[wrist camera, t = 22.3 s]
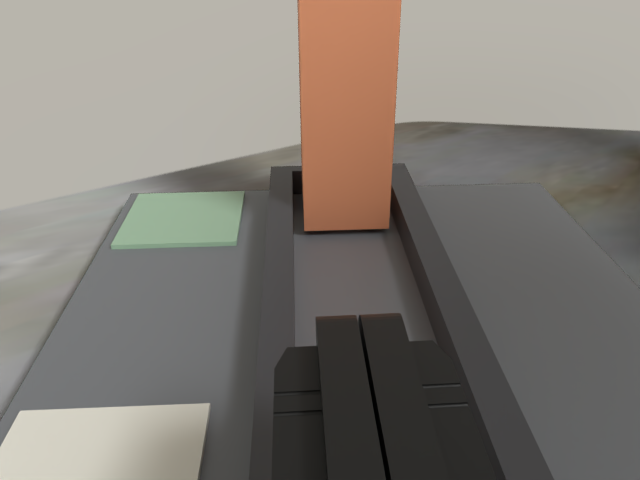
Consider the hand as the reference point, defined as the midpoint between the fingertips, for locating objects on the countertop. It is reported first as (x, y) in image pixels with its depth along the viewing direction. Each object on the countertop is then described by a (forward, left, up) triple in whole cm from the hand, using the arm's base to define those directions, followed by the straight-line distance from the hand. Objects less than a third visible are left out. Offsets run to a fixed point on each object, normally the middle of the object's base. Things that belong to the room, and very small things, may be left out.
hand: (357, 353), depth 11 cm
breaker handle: (-1, -15, -4) cm, 16 cm away
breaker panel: (-1, -8, -6) cm, 10 cm away
